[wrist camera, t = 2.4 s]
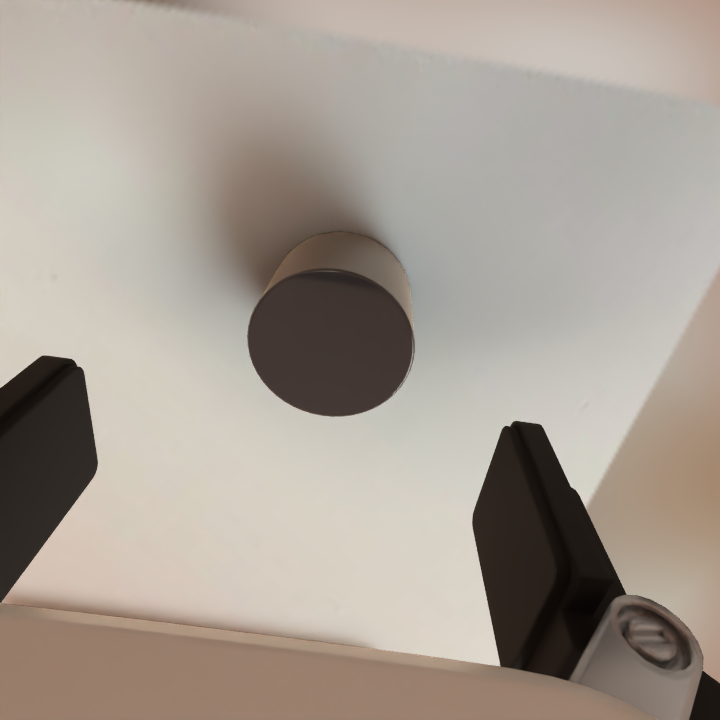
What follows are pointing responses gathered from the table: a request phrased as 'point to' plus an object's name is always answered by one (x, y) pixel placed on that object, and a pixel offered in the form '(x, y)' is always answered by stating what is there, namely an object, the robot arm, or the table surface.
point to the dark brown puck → (334, 326)
